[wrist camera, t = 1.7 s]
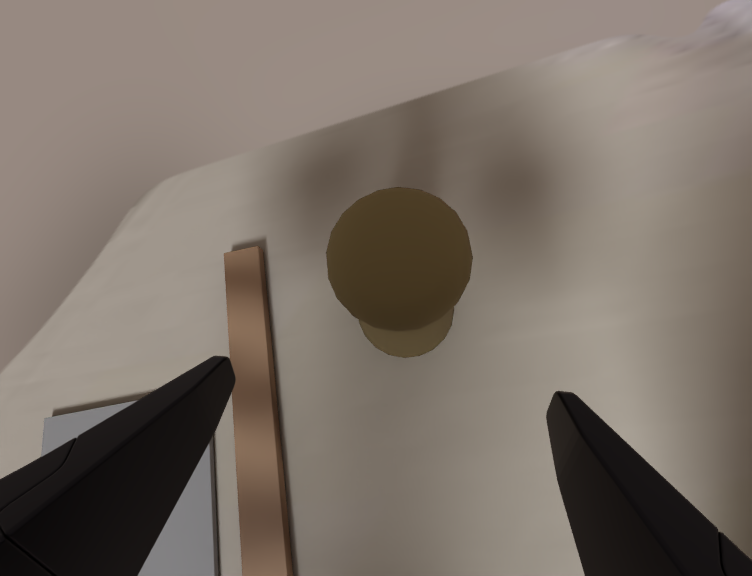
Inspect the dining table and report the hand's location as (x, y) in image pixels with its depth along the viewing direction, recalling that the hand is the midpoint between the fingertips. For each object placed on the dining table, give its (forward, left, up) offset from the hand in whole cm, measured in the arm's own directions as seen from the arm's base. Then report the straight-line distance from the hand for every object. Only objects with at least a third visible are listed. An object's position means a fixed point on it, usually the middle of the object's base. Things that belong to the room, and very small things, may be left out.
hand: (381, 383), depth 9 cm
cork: (+4, -1, -11) cm, 12 cm away
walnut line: (0, +9, -11) cm, 14 cm away
